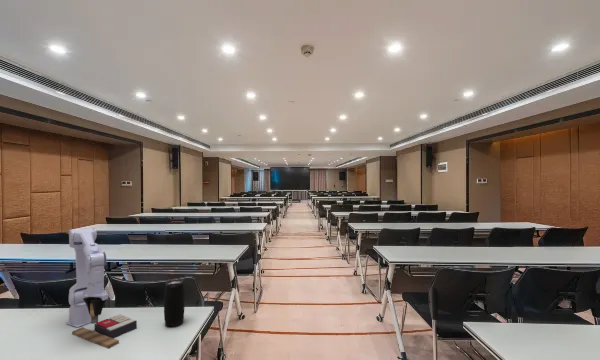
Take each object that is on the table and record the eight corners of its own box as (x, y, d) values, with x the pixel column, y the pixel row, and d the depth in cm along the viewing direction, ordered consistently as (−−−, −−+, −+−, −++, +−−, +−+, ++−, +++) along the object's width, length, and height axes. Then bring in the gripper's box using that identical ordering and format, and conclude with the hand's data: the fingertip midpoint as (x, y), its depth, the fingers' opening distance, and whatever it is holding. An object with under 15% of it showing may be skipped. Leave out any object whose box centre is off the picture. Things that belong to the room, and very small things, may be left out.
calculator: (120, 313, 132) (137, 319, 124) (120, 322, 132) (137, 328, 124) (94, 322, 123) (109, 329, 115) (94, 332, 123) (109, 340, 114)
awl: (88, 323, 115) (88, 303, 115) (96, 319, 118) (97, 300, 118) (92, 324, 113) (92, 305, 114) (100, 321, 116) (101, 302, 116)
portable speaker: (185, 317, 134) (185, 277, 134) (183, 327, 125) (183, 283, 125) (165, 320, 131) (166, 279, 132) (162, 330, 122) (162, 285, 123)
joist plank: (72, 334, 119) (72, 331, 119) (82, 329, 123) (82, 327, 123) (108, 348, 108) (108, 345, 108) (118, 343, 112) (118, 340, 112)
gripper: (75, 282, 116) (74, 315, 115) (95, 287, 110) (94, 321, 109) (93, 277, 122) (93, 308, 122) (113, 281, 116) (113, 314, 115)
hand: (95, 314), depth 116 cm, fingers closed on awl, 3 cm apart
